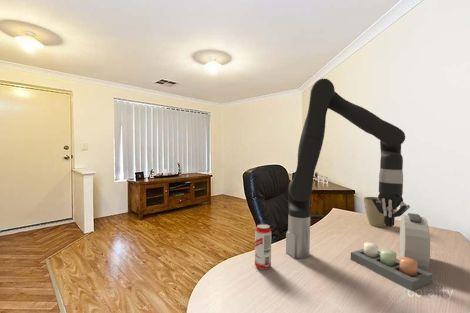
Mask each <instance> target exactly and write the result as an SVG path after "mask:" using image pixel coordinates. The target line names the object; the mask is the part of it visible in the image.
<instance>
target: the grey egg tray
mask: <svg viewBox="0 0 470 313" xmlns="http://www.w3.org/2000/svg"><path fill="white" fill-rule="evenodd" d="M380 253H381V251H379V250H378V258H370V257H367V256H365V255H364V248H363V249H359V250H354V251H351V252H350V260H351V261H353V262H355V263H357V264H359V265H360V266H362V267H365V268H367V269H369V270H370V271H371V272H374V273H376V274H378V275H380V276H382V277H384V278H385V279H387V280H390V281H392V282H394V283H395V284H398V285H400V286H402V287H403V288H405V289H407V290H409V291H411V292H413V291H416V290H418V289H420V288H423V287H424V286H425V287H426V286H427V284H428V285H430V284H432V283H433V281H434V280H433V278H434V275H433V273H431V272H429V271H424V270H422V269H420V268H417V276H415V277H412V276H408V275H406V274H404V273H402V272H400V271H399V267H400V259H398V258H396V266H394V267H389V266H387V265H385V264H382V263H381V262H380Z"/></svg>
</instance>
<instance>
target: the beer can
mask: <svg viewBox="0 0 470 313" xmlns="http://www.w3.org/2000/svg"><path fill="white" fill-rule="evenodd" d="M254 233H255V234H254V245H255V246H254V265H255V267H256V268H257V269H259V270H262V271H264V270H268V269H269V268H270V267H271V266H272V229H271V225H269V224H266V223H258V224H257V225H256V228H255V230H254Z"/></svg>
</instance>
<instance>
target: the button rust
mask: <svg viewBox="0 0 470 313" xmlns="http://www.w3.org/2000/svg"><path fill="white" fill-rule="evenodd" d="M399 260H400V267H399V271H400V272H402V273H404V274H406V275H408V276H412V277H415V276H417V264H418V262H417V261H416V260H414V259H412V258H408V257H401V256H400V257H399Z"/></svg>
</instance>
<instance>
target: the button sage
mask: <svg viewBox="0 0 470 313" xmlns="http://www.w3.org/2000/svg"><path fill="white" fill-rule="evenodd" d="M380 252H381V253H380V262H381V263H382V264H385V265H387V266H389V267H394V266H396V259H397V252H396V251H394V250H391V249H388V248H382V249H380Z"/></svg>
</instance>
